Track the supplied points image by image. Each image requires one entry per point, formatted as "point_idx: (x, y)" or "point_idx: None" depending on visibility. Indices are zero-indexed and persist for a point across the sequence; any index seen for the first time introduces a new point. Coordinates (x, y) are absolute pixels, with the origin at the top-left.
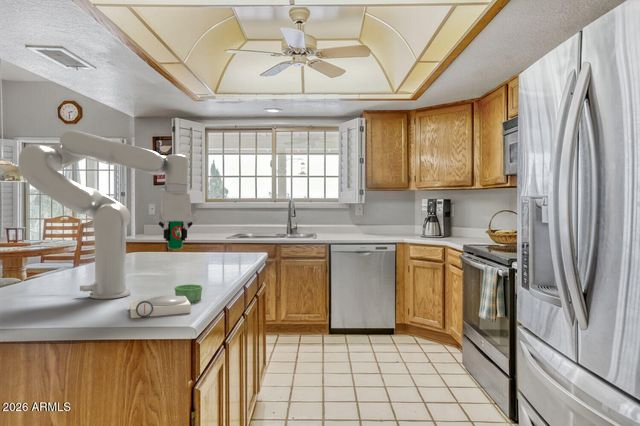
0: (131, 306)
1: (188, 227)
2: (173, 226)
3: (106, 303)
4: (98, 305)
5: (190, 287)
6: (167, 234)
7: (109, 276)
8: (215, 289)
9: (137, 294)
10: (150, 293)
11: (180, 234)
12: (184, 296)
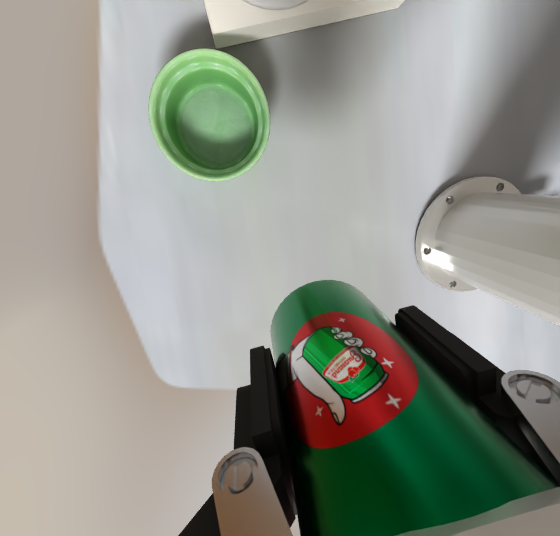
0: None
1: (213, 504)
2: (442, 403)
3: (472, 115)
4: (492, 87)
5: (212, 170)
6: (439, 335)
7: (536, 197)
8: (147, 295)
9: (393, 242)
10: (356, 253)
11: (302, 362)
12: (214, 19)
